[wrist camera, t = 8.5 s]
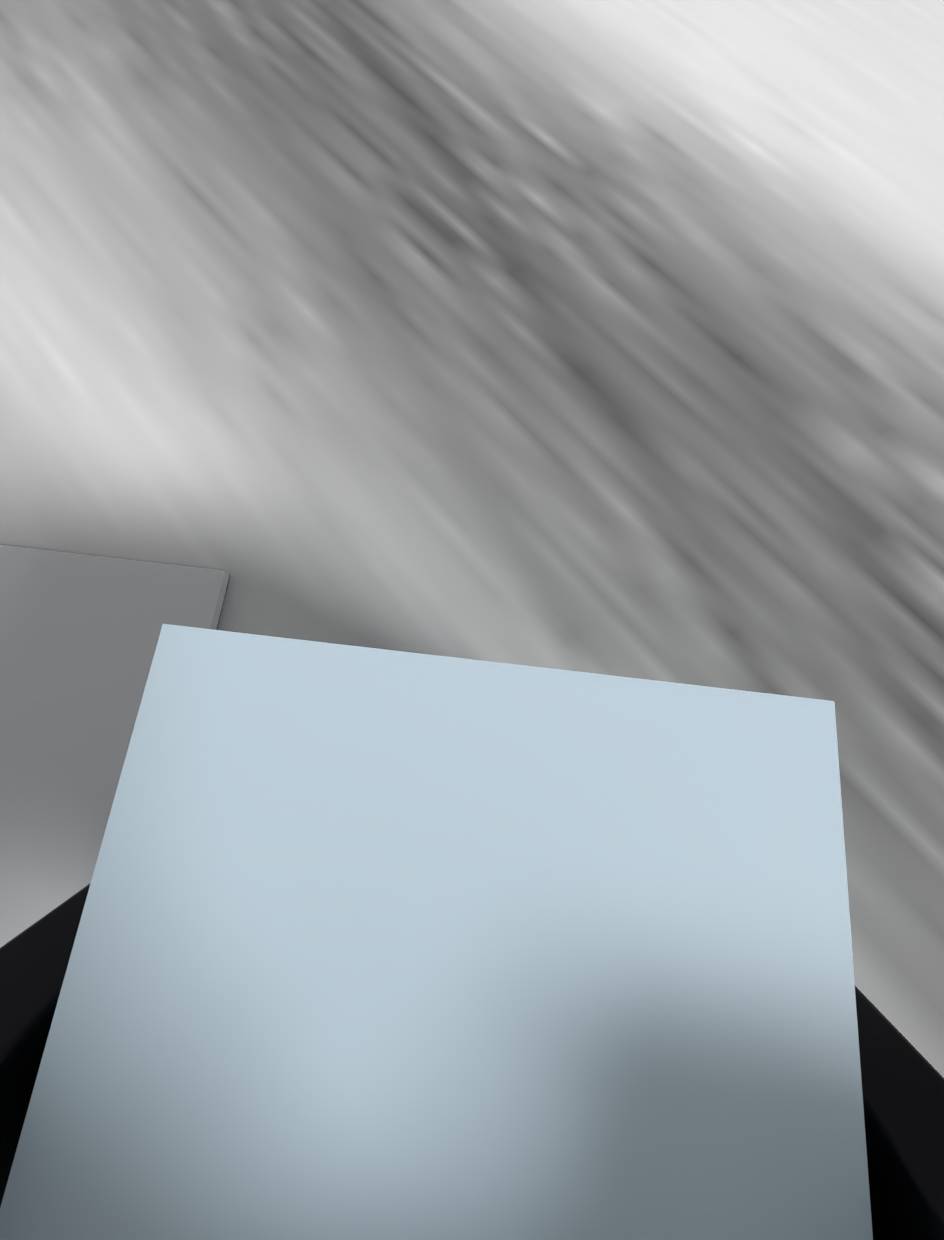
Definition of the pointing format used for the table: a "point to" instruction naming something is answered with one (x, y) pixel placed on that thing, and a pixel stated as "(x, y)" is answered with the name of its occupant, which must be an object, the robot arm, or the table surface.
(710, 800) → the light blue block
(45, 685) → the mat
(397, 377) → the table surface
